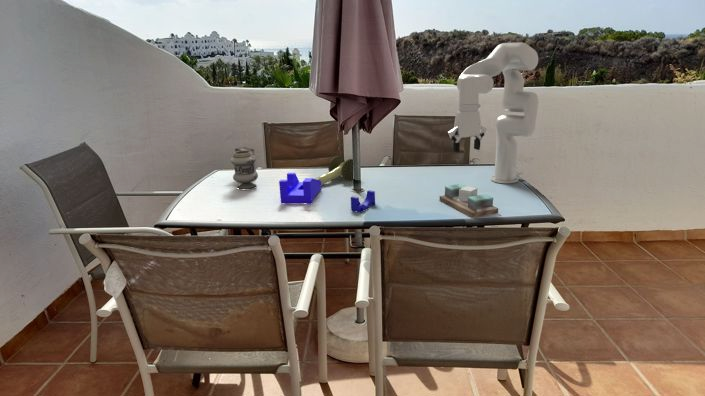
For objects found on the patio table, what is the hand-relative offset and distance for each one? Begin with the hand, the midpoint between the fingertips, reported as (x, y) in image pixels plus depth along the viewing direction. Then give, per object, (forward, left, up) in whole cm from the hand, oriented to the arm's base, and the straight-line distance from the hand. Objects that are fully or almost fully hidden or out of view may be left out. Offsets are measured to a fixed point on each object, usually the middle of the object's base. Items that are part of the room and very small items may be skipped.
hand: (466, 150), depth 190 cm
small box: (+2, +5, -20) cm, 20 cm away
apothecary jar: (+81, -68, -22) cm, 108 cm away
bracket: (+60, -40, -23) cm, 76 cm away
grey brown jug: (+78, -85, -22) cm, 118 cm away
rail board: (+2, +5, -22) cm, 23 cm away
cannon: (+38, -57, -23) cm, 73 cm away
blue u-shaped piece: (+40, -13, -23) cm, 48 cm away
